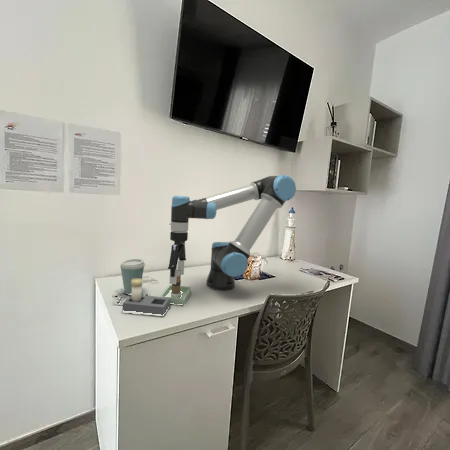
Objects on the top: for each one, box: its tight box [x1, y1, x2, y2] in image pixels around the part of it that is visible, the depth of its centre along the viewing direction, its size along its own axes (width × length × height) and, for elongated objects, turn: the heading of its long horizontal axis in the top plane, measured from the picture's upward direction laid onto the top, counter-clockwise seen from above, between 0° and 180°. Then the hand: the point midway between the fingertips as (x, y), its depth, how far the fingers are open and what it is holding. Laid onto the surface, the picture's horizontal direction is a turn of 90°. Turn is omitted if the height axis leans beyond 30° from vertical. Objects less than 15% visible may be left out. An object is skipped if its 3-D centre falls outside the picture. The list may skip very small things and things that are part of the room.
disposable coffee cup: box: [120, 258, 146, 294], centre depth 120 cm, size 11×11×15 cm
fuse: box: [131, 278, 144, 302], centre depth 104 cm, size 4×4×12 cm
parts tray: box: [159, 284, 192, 306], centre depth 118 cm, size 11×15×3 cm
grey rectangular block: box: [122, 294, 171, 315], centre depth 104 cm, size 16×9×4 cm, turn 85°
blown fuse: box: [171, 268, 182, 298], centre depth 117 cm, size 4×4×12 cm
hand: (176, 278), depth 117 cm, fingers open, 12 cm apart
